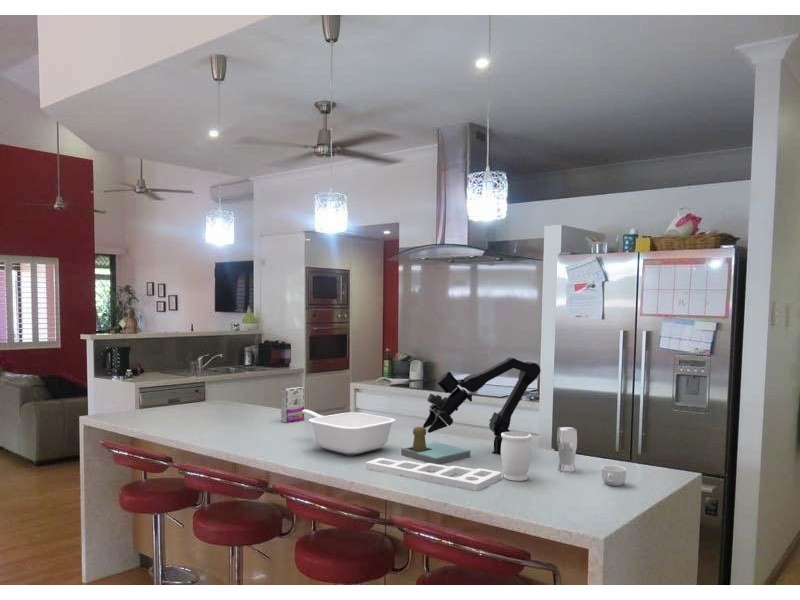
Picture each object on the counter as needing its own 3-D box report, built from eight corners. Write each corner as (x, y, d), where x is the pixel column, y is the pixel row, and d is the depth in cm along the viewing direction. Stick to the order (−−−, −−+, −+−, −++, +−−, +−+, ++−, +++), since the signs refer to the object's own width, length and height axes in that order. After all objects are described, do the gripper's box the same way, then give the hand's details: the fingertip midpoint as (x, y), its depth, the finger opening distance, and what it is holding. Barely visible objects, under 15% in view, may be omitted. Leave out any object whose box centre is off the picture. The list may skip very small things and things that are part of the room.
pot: (350, 462, 234) (351, 428, 234) (277, 443, 264) (277, 413, 264) (401, 449, 256) (401, 418, 256) (328, 433, 285) (328, 405, 285)
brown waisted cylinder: (410, 453, 249) (411, 425, 249) (426, 453, 250) (426, 425, 250) (412, 457, 243) (412, 428, 243) (428, 457, 244) (428, 428, 244)
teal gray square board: (470, 456, 245) (470, 450, 245) (436, 464, 233) (436, 457, 233) (435, 447, 259) (435, 441, 259) (401, 455, 247) (401, 448, 247)
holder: (365, 469, 226) (365, 462, 226) (394, 460, 241) (394, 453, 241) (477, 492, 200) (477, 484, 200) (502, 480, 215) (502, 472, 215)
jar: (531, 483, 210) (531, 438, 210) (499, 481, 212) (500, 436, 212) (531, 474, 220) (531, 431, 220) (501, 473, 222) (501, 430, 222)
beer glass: (577, 469, 229) (577, 427, 229) (576, 473, 222) (576, 431, 222) (557, 467, 231) (558, 426, 231) (555, 472, 224) (556, 429, 224)
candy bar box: (298, 419, 320) (298, 386, 320) (304, 420, 316) (304, 387, 316) (280, 421, 311) (280, 388, 311) (286, 423, 308) (287, 389, 308)
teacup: (606, 479, 215) (606, 463, 215) (629, 483, 211) (629, 467, 211) (596, 486, 207) (596, 469, 207) (619, 490, 203) (619, 473, 203)
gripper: (435, 383, 257) (407, 411, 255) (445, 390, 238) (415, 419, 237) (453, 403, 258) (426, 430, 256) (465, 410, 240) (436, 440, 238)
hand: (425, 429), depth 247 cm, fingers open, 9 cm apart
